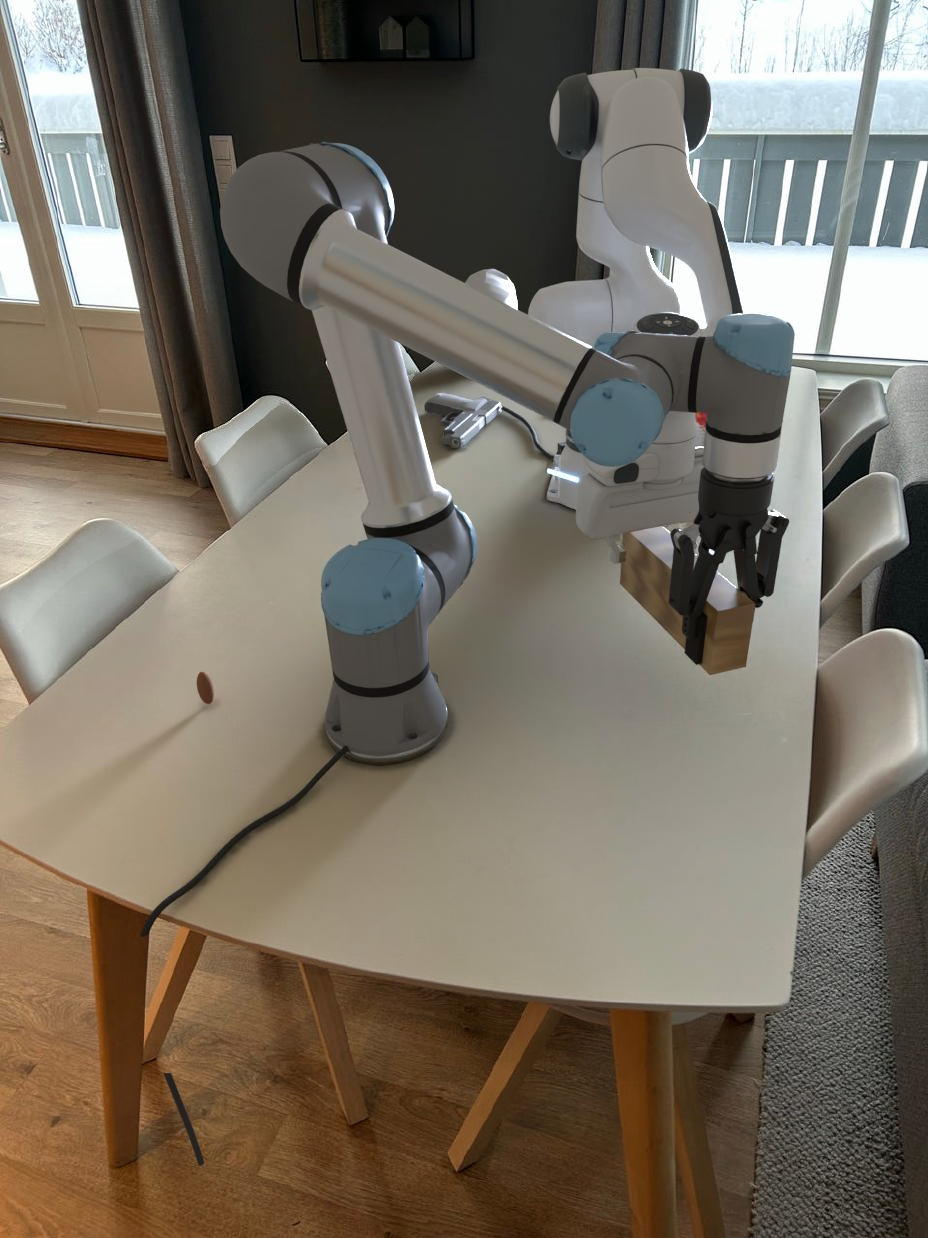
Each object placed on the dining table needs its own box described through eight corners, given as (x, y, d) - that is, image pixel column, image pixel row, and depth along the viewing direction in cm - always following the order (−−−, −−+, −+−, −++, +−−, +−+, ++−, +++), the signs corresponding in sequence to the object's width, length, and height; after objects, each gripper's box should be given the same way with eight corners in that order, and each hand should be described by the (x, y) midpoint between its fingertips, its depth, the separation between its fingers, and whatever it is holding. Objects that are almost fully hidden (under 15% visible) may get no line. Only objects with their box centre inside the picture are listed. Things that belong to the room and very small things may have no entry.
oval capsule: (219, 703, 119) (212, 671, 116) (206, 710, 118) (198, 678, 115) (211, 696, 120) (204, 665, 117) (198, 703, 119) (190, 672, 116)
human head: (525, 334, 255) (519, 254, 235) (516, 385, 243) (510, 305, 223) (470, 333, 258) (461, 254, 237) (459, 384, 246) (448, 305, 226)
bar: (746, 667, 106) (755, 603, 101) (709, 675, 104) (717, 611, 100) (651, 577, 124) (655, 520, 120) (619, 583, 123) (622, 526, 119)
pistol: (389, 443, 199) (464, 452, 193) (388, 426, 197) (463, 434, 191) (438, 404, 218) (507, 411, 212) (437, 388, 216) (507, 395, 209)
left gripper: (789, 445, 100) (761, 623, 113) (644, 469, 96) (631, 652, 108) (833, 469, 94) (798, 654, 106) (679, 496, 90) (661, 686, 102)
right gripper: (718, 434, 116) (707, 531, 123) (571, 457, 111) (569, 558, 118) (746, 450, 111) (733, 551, 118) (593, 475, 106) (590, 579, 113)
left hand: (714, 653), depth 107 cm, fingers closed on bar, 5 cm apart
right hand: (650, 554), depth 118 cm, fingers open, 8 cm apart
